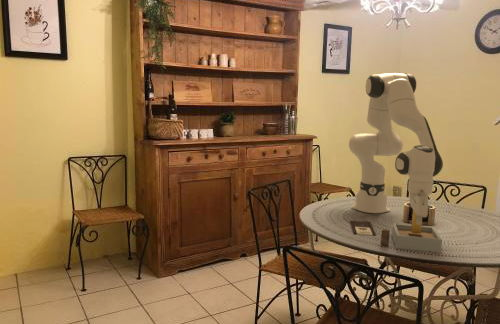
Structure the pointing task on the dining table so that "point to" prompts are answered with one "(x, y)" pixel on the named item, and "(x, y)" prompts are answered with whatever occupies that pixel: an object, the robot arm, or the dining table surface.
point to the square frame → (416, 238)
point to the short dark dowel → (385, 237)
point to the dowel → (415, 225)
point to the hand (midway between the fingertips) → (416, 222)
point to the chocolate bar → (362, 228)
